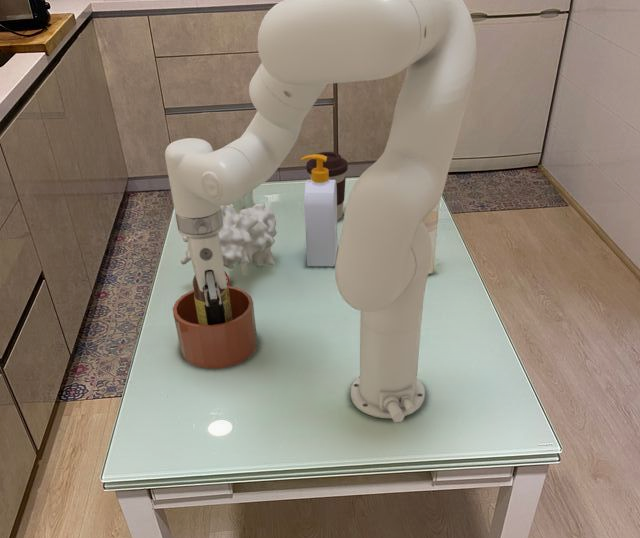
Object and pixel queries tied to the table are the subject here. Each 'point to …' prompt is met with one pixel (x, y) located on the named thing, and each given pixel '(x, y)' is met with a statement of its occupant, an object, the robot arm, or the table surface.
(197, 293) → the sauce bottle
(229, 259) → the lumpy white molecule
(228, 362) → the crock
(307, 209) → the soap bottle
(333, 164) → the coffee cup
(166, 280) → the table surface
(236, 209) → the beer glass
